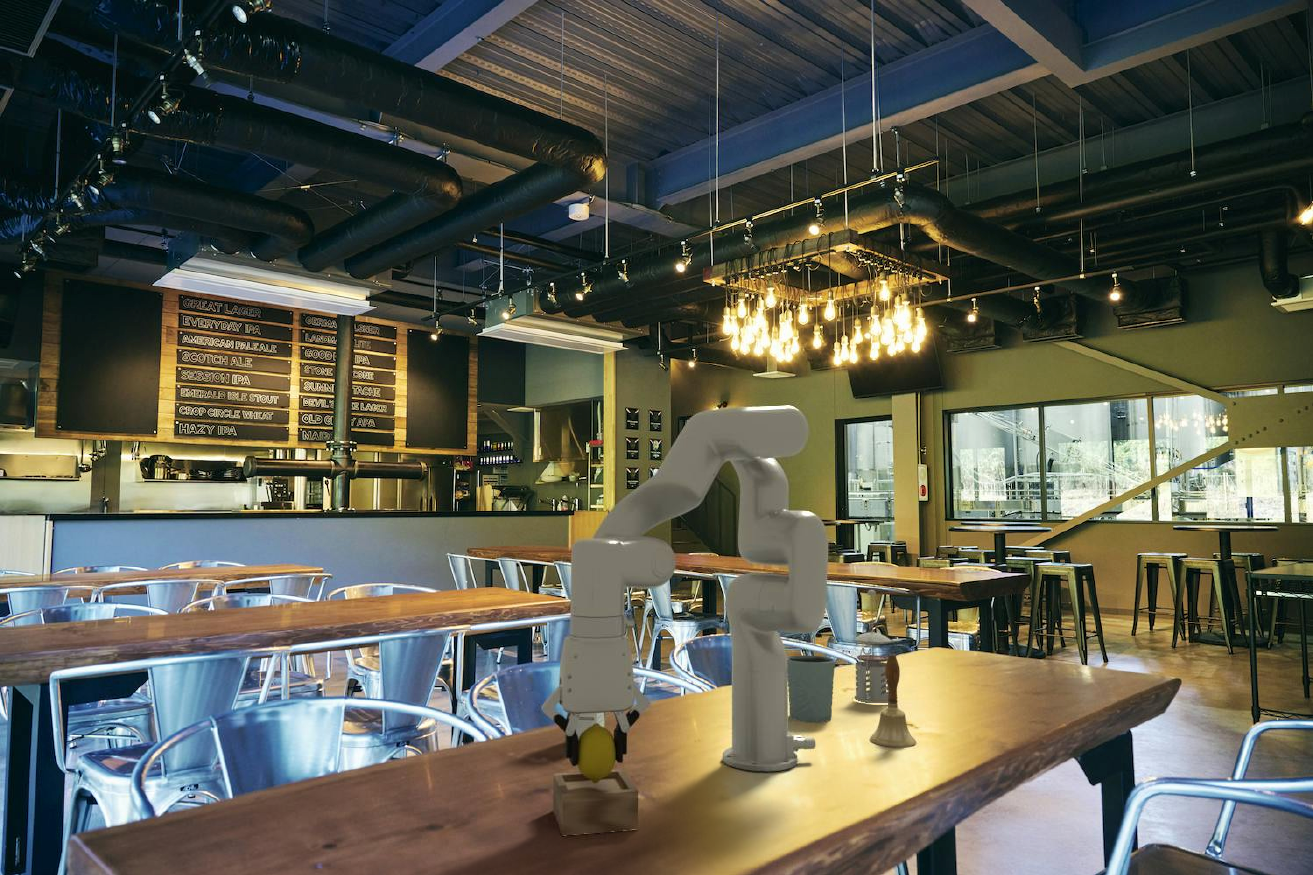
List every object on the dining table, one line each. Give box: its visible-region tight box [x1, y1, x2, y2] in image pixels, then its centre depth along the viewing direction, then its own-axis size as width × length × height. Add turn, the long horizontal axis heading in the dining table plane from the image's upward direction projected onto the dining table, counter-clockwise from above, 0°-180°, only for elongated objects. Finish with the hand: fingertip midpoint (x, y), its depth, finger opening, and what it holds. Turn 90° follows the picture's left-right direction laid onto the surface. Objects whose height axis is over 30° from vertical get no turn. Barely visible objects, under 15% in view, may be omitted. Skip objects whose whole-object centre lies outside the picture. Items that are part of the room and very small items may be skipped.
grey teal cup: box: [787, 654, 836, 723], centre depth 174 cm, size 10×10×12 cm
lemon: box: [576, 723, 616, 783], centre depth 115 cm, size 6×6×8 cm
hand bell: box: [869, 653, 917, 748], centre depth 156 cm, size 8×8×16 cm
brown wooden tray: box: [552, 768, 639, 836], centre depth 114 cm, size 10×10×5 cm
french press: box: [854, 589, 892, 703], centre depth 190 cm, size 10×12×25 cm
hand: (596, 760), depth 115 cm, fingers closed on lemon, 5 cm apart
